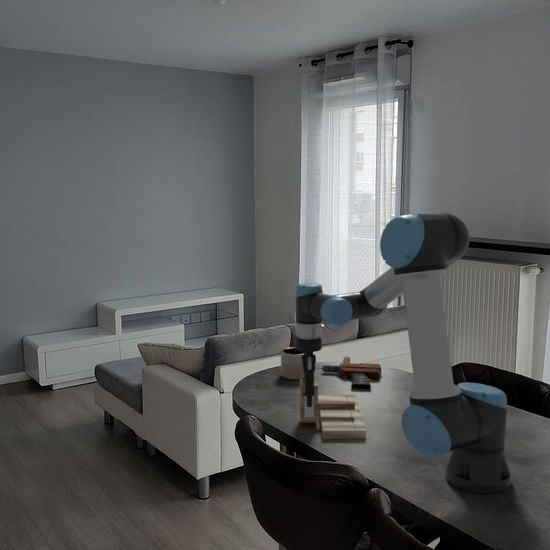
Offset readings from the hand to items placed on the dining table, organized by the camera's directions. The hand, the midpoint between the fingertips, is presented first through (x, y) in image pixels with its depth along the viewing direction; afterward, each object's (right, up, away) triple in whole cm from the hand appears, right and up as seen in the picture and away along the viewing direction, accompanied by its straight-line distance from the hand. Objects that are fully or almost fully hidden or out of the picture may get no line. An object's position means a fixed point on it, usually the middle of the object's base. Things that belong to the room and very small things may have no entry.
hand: (308, 412), depth 191 cm
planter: (-2, +3, +47) cm, 47 cm away
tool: (+15, +3, +46) cm, 49 cm away
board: (+10, -3, +4) cm, 11 cm away
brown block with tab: (+5, -2, 0) cm, 6 cm away
